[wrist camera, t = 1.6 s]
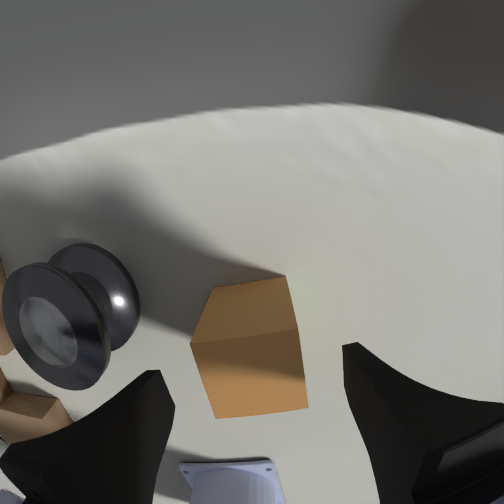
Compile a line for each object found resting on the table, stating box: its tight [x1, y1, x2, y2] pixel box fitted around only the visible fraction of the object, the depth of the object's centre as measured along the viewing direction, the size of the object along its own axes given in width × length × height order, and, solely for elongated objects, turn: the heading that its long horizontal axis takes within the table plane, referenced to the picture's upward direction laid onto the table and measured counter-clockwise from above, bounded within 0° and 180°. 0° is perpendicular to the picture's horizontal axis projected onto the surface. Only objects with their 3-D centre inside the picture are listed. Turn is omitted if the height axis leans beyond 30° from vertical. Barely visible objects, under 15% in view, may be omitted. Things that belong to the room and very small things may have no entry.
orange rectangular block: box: [190, 276, 308, 419], centre depth 14 cm, size 4×4×6 cm
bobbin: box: [2, 243, 140, 390], centre depth 15 cm, size 7×7×5 cm
